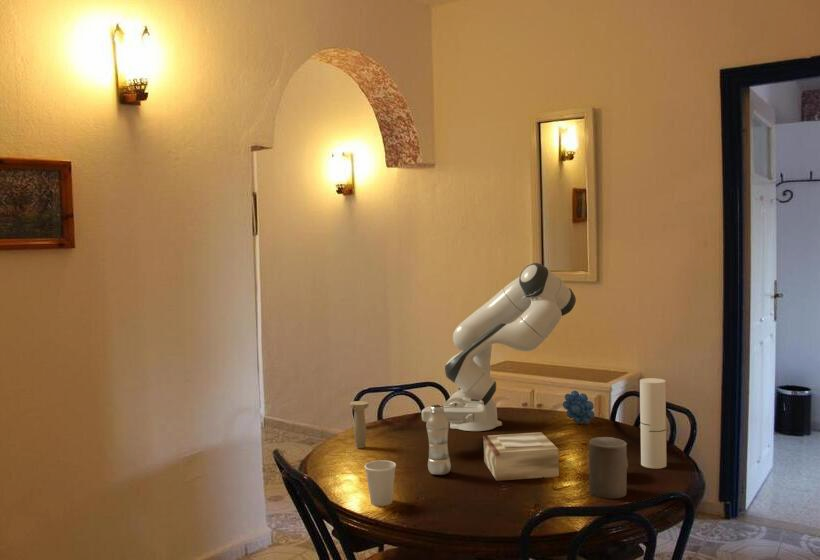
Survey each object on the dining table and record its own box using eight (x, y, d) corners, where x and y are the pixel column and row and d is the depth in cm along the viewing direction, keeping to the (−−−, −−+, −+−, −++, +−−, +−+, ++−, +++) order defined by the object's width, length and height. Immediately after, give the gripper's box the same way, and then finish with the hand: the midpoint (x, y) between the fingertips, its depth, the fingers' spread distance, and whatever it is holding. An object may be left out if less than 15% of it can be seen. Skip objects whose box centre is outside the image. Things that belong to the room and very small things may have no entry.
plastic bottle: (449, 477, 217) (447, 409, 215) (426, 477, 218) (423, 408, 217) (452, 470, 223) (450, 403, 222) (429, 470, 224) (427, 403, 223)
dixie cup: (361, 499, 201) (360, 462, 201) (391, 494, 204) (389, 458, 204) (371, 510, 193) (370, 471, 193) (402, 504, 197) (400, 466, 196)
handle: (363, 450, 246) (361, 405, 245) (348, 448, 250) (346, 403, 249) (372, 447, 250) (371, 402, 249) (357, 444, 254) (356, 400, 253)
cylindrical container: (648, 459, 227) (647, 377, 226) (670, 464, 222) (669, 380, 221) (636, 465, 222) (635, 381, 221) (659, 470, 217) (658, 384, 216)
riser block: (483, 461, 231) (483, 434, 230) (541, 457, 232) (541, 431, 232) (496, 480, 213) (495, 451, 212) (558, 476, 214) (558, 447, 214)
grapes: (559, 425, 270) (558, 391, 270) (565, 420, 276) (564, 388, 275) (590, 428, 264) (590, 394, 264) (596, 423, 270) (596, 390, 269)
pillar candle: (586, 496, 198) (586, 440, 197) (591, 484, 207) (591, 430, 206) (625, 500, 194) (625, 443, 193) (628, 488, 203) (628, 433, 202)
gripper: (425, 400, 247) (416, 409, 233) (488, 400, 242) (482, 410, 228) (426, 419, 247) (417, 430, 233) (488, 420, 242) (482, 431, 229)
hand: (449, 420), depth 231 cm, fingers open, 8 cm apart
